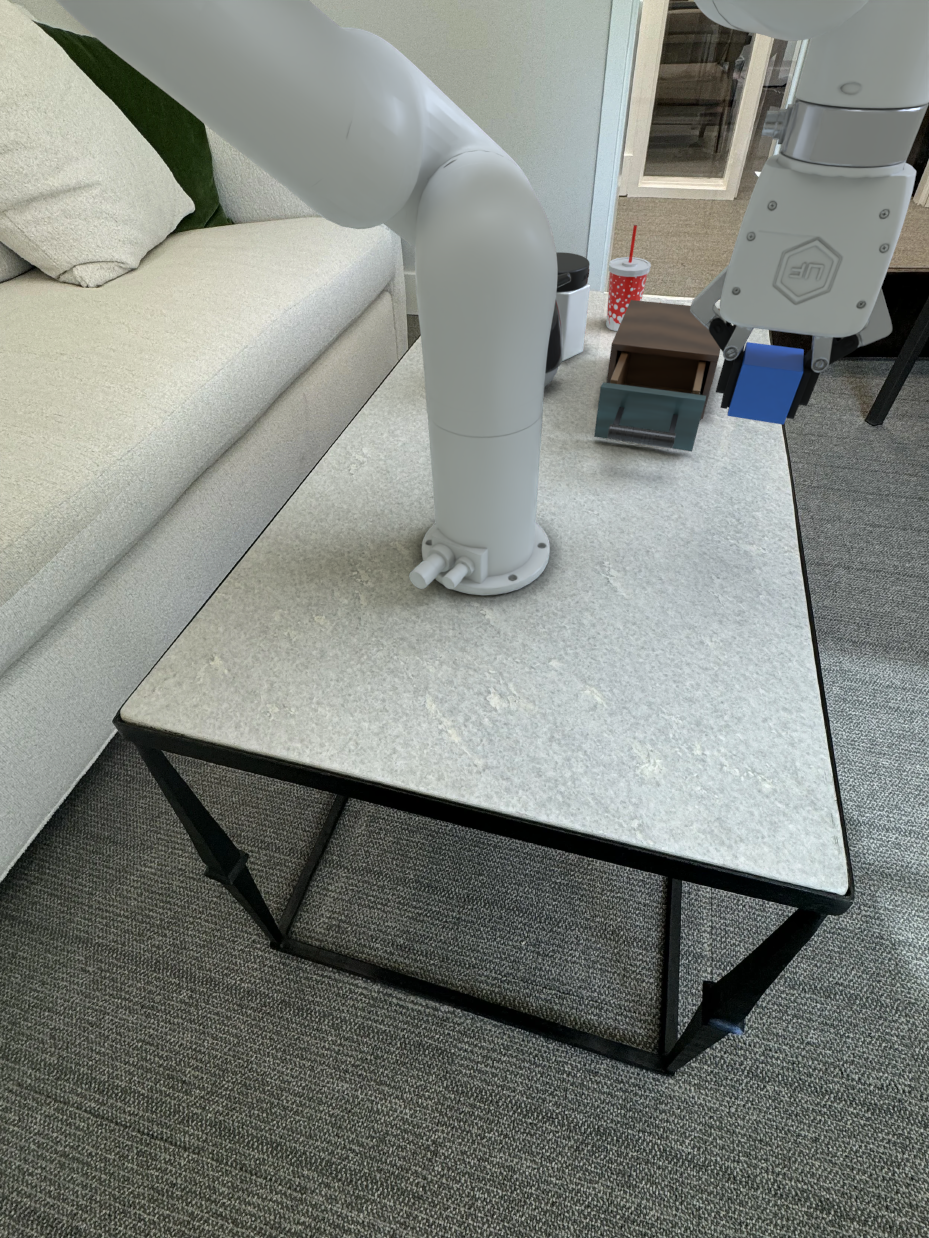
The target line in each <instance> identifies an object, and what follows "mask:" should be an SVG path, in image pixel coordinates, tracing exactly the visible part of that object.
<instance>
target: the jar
mask: <svg viewBox="0 0 929 1238" xmlns="http://www.w3.org/2000/svg"><path fill="white" fill-rule="evenodd" d="M556 254H557V276H558V275H562V274H565V273H569V274H570V275H571V281H570V282H569V283H566V284H564V285H562V286H560V287H558V288H557V291H556V300H557V303H558V307H559V312H560V317H561V324H562V335H563V359H562V362H564V361H567V360H568V359H570V358H572V357H575V356H577V355H579V354H581V353H583V352H584V346H585V337H586V330H587V329H586V328H587V319H588V318H587V317H588V310H589V301H590V292H591V284H590V283H589V278H590V260H589V259H588V258H586V257H585V256H583V255H580V254H577V253H573V252H563V251H562V252H559V251H556Z"/></svg>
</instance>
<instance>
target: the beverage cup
mask: <svg viewBox="0 0 929 1238" xmlns="http://www.w3.org/2000/svg"><path fill="white" fill-rule="evenodd" d="M637 228H638V224H633V228H632V235H631V242H630V247H629V248H630V249H629V256H623V257H616V258H613V259H611V260H610V261H609V262H608V272H609V280H608V296H607V307H606V308H607V309H606V321H605V322H606V323H605V325H606V328H607V329H609V330H611V331H615V332H617V331H618V328H619V326H620V324H621V322H622V319H623V317H624V315H625V312H626V310H627V308H628V306H629V303H630V301H631V300H637V301H643V296H644V291H645V287H646V283H647V277H648V274H649V272H650V271H651V267H652V263H651V262H650V261H648V260H647V259H644V258H642V257H633V256H634V249H635V244H636V243H635V242H636V235H637V230H638V229H637Z"/></svg>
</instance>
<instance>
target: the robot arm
mask: <svg viewBox="0 0 929 1238" xmlns="http://www.w3.org/2000/svg"><path fill="white" fill-rule="evenodd" d="M55 2H56V3H58V4H59V6H61V8H63V10H65V11H66V12H67V13H68V14H69V15H70V16H71V17H72V18H73V19H74V20H75V21H77V23H79V24H80V25H81V26H82V27H83V28H84V29H85V30H86V31H88V32H89V33H90V34H91V35H92V36H93V37H95V38H96V39H97V40H98V41H99V42H101V44H103V45H104V46H105V47H107V49H109V50H110V51H112V52H113V53H114V54H116V55H117V56H118V57H119V58H120V59H122V60H123V61H124V62H126V63H127V64H128V65H130V66H131V67H132V68H134V70H135V71H137V72H139V73H140V74H141V75H142V76H144V77H145V78H146V79H148V80H149V81H150V82H151V83H152V84H154V85H155V86H157V87H158V88H159V89H161V90H162V91H163V92H164V93H165V94H167V95H168V96H169V97H171V98H172V99H174V101H176V102H177V103H179V104H180V105H181V106H182V107H184V108H185V109H186V110H187V111H188V112H190V113H191V114H192V115H193V116H195V117H196V118H197V119H198V120H199V121H201V122H202V123H203V124H204V125H205V126H206V127H207V128H208V129H209V130H211V131H212V132H214V134H216V135H217V136H219V137H220V138H221V139H223V140H224V141H225V142H226V143H227V144H229V145H230V146H231V147H233V148H234V149H235V150H237V151H238V152H239V153H241V154H242V155H243V156H245V157H246V158H247V159H248V160H249V161H251V162H252V163H253V164H254V165H256V166H257V167H258V168H260V169H261V170H262V171H264V172H265V173H267V174H268V175H269V176H270V177H272V178H273V179H274V180H276V182H278V183H279V184H281V185H282V186H283V187H285V188H286V189H287V190H288V191H289V192H291V194H293V195H294V196H295V197H297V199H299V200H300V201H301V202H302V203H304V205H306V206H307V207H309V209H311V210H312V211H313V212H315V213H317V214H318V215H319V216H320V217H322V218H323V219H324V220H326V221H329V222H331V223H333V224H336V225H337V226H339V227H342V228H348V229H353V230H367V229H373V228H375V227H378V226H380V225H384V226H385V227H387V228H388V229H389V230H391V231H392V232H393V233H395V234H396V235H397V236H398V237H399V238H401V239H402V240H404V241H405V242H406V243H407V244H408V245H409V246H411V247H413V248H414V276H415V278H414V279H415V280H414V281H415V294H416V304H417V305H416V306H417V314H418V315H417V316H418V323H419V332H420V341H421V353H422V365H423V374H424V375H423V379H424V391H425V392H424V393H425V404H426V405H425V406H426V415H427V426H428V427H427V428H428V438H429V439H428V440H429V454H430V467H431V479H432V480H431V481H432V494H433V506H434V507H433V508H434V521H435V522H434V523H433V524H432V525H431V526H430V527H429V529H428V530H427V531H426V532H425V534H424V537H423V539H422V541H421V556H422V561H421V562H419V564H418V565H416V566H415V567H414V568H413V569H412V570H411V571H410V573H408V578H409V580H410V583H411V584H412V585H413V586H414V587H416V588H417V589H420V590H424V589H426V588H427V587H428V586H429V585H430V584H431V583H432V582H433V581H434V580H436V581H437V582H438V583H440V584H441V585H443V586H444V587H445V588H446V589H448V590H453V591H456V592H460V593H463V594H468V595H475V596H496V595H501V594H507V593H511V592H514V591H517V590H520V589H522V588H525V587H526V586H528V585H530V584H532V583H533V582H534V581H535V580H537V579H538V578H539V577H540V576H541V575H542V573H543V572H544V571H545V569H546V567H547V565H548V563H549V559H550V550H551V549H550V547H551V544H550V540H549V536H548V535H547V533H546V531H545V530H544V528H543V527H542V526H541V525H540V524H539V523H538V522H537V507H538V495H539V494H538V493H539V492H538V490H539V476H540V463H541V462H540V460H541V447H542V432H543V417H544V397H545V396H544V395H545V387H544V382H545V371H546V360H547V351H548V343H549V337H550V331H551V324H552V318H553V313H554V307H555V300H556V291H557V254H556V252H557V246H556V242H555V237H554V233H553V230H552V226H551V223H550V220H549V218H548V215H547V213H546V211H545V209H544V207H543V204H542V203H541V200H540V199H539V197H538V195H537V193H536V191H535V190H534V189H533V186H532V184H531V182H530V181H529V178H528V177H527V175H526V174H525V172H524V171H523V169H522V168H521V167H520V166H519V164H518V163H517V162H516V161H515V160H514V159H513V158H512V157H511V156H510V155H509V154H508V153H507V152H506V151H505V149H503V148H502V147H501V146H500V145H499V144H498V143H497V142H496V141H495V140H494V139H492V138H491V137H490V135H489V134H487V132H485V131H484V130H483V129H482V128H481V127H480V126H479V125H478V124H477V123H476V122H475V121H473V119H472V118H470V117H469V115H468V114H466V113H465V112H464V110H463V109H462V108H460V107H459V106H458V105H457V104H456V103H455V102H454V101H453V100H452V99H451V98H449V96H448V95H447V94H445V93H444V92H443V90H441V89H440V88H439V87H438V86H437V85H436V84H435V82H433V81H432V80H431V79H430V78H429V77H428V76H427V75H426V74H425V73H424V72H423V71H422V70H421V69H420V68H418V67H417V66H416V65H415V64H414V63H413V62H412V61H411V60H410V59H409V58H408V57H406V55H405V54H403V52H401V51H400V50H399V49H397V47H395V46H394V45H392V43H390V42H389V41H387V40H386V39H384V38H383V37H381V36H380V35H378V34H376V33H374V32H371V31H369V30H366V29H363V28H358V27H351V26H350V27H342V26H340V25H339V24H338V23H336V22H335V21H334V20H333V19H332V18H331V17H329V16H328V15H327V14H326V13H324V12H323V10H321V9H320V8H319V7H317V5H316V4H314V3H313V2H312V0H55ZM693 2H694V3H695V4H696V7H697V8H698V9H699V10H700V11H701V13H702V14H703V15H705V16H706V17H707V18H708V19H710V21H712V22H714V23H716V24H718V25H720V26H723V27H725V28H728V29H732V30H735V31H736V30H737V31H741V32H745V33H750V34H757V35H761V36H765V37H768V38H772V39H776V40H781V41H785V42H798V41H799V42H800V41H805V40H810V42H809V44H808V48H807V53H806V56H805V60H804V63H803V67H802V70H801V73H800V77H799V81H798V85H797V89H796V92H795V96H794V98H793V103H788V104H787V107H786V108H779V110H767V111H766V115H765V118H764V122H763V126H762V131H761V134H760V137H768V138H769V137H770V138H772V139H771V140H777V145H780V150H779V153H778V154H774V155H771V156H769V157H768V158H767V160H766V161H765V163H764V165H763V167H762V169H761V171H760V173H759V175H758V178H757V180H756V183H755V185H754V187H753V189H752V192H751V195H750V197H749V200H748V203H747V207H746V209H745V212H744V215H743V217H742V221H741V224H740V227H739V231H738V234H737V236H736V239H735V243H734V246H733V249H732V253H731V256H730V260H729V262H728V264H727V265H726V266H725V267H724V268H723V269H722V271H720V272H719V273H718V274H717V275H716V276H715V278H713V279H712V280H711V281H709V283H708V284H707V286H705V287H704V288H703V289H702V290H701V291H700V292H699V293H698V294H697V295H696V296H695V297H694V298H693V299H692V302H691V303H690V304H691V305H690V306H691V307H690V312H691V313H692V314H693V315H694V316H695V317H696V318H697V319H698V320H699V321H700V322H701V323H702V324H703V325H704V326H705V327H706V328H707V329H708V330H709V332H710V334H711V335H712V337H713V338H714V340H715V341H716V343H717V344H718V346H719V347H720V351H721V352H722V357H723V358H724V359H723V363H722V365H721V370H720V373H719V377H718V380H717V384H716V388H715V393H716V394H717V393H718V394H722V398H721V402H720V409H725V410H727V409H728V408H729V407H730V403H731V400H732V397H733V393H734V390H735V387H736V384H737V380H738V377H739V374H740V370H741V367H742V363H743V357H744V349H745V346H746V343H747V342H748V340H749V338H750V337H751V334H752V333H753V330H754V329H759V330H766V331H767V330H768V331H773V332H774V331H775V332H782V333H791V334H797V335H807V336H812V341H811V349H810V350H808V351H807V352H806V354H805V355H804V357H803V375H802V377H801V380H800V383H799V385H798V388H797V391H796V393H795V396H794V398H793V401H792V404H791V406H790V409H789V412H788V414H787V417H786V419H788V420H789V419H790V420H794V419H795V417H796V415H797V412H798V409H799V406H804V407H807V406H808V404H809V403H810V399H811V397H812V395H813V392H814V391H815V390H814V389H815V387H816V385H817V382H818V379H819V378H820V377H819V376H820V374H821V373H823V372H825V371H826V370H827V369H829V366H830V365H832V364H834V363H836V362H837V361H839V360H841V359H842V358H845V357H846V356H848V355H850V354H851V353H853V352H855V351H856V350H857V349H858V348H860V347H864V346H867V345H870V344H872V343H875V342H876V341H877V342H878V341H880V340H881V339H884V338H886V337H888V336H889V335H890V334H891V333H893V324H892V319H891V316H890V313H889V309H888V307H887V303H886V299H885V295H884V292H883V289H882V286H883V284H884V280H885V278H886V276H887V272H888V270H889V267H890V264H891V262H892V259H893V256H894V253H895V250H896V247H897V245H898V241H899V238H900V236H901V233H902V229H903V225H904V223H905V219H906V216H907V214H908V209H909V206H910V202H911V198H912V194H913V191H914V187H915V181H916V176H917V170H916V169H915V168H914V167H913V165H911V164H909V163H907V160H908V158H909V155H910V152H911V150H912V147H913V145H914V142H915V140H916V137H917V135H918V132H919V130H920V127H921V125H922V122H923V119H924V117H925V114H926V112H927V109H928V107H929V0H693ZM718 301H719V307H717V305H716V303H717V302H718ZM718 308H720V311H719V310H718Z"/></svg>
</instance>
